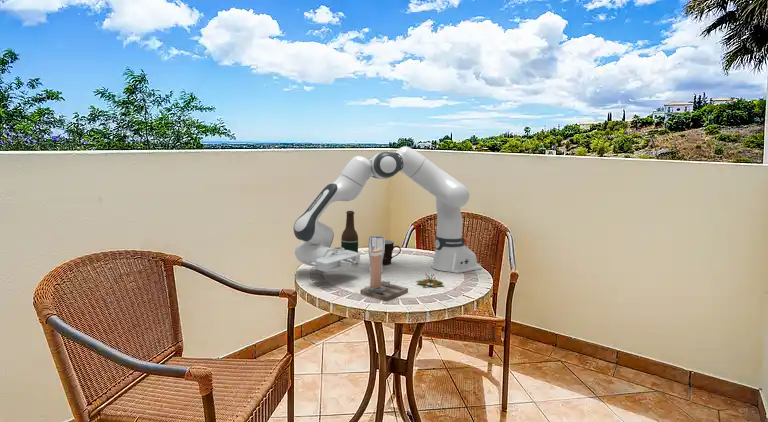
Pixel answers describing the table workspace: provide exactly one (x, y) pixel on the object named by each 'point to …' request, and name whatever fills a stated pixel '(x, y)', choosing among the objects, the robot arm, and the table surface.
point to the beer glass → (376, 246)
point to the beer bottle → (350, 234)
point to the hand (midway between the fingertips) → (353, 264)
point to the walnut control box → (391, 292)
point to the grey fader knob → (385, 282)
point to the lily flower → (434, 282)
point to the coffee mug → (389, 252)
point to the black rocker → (380, 290)
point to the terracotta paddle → (376, 268)
